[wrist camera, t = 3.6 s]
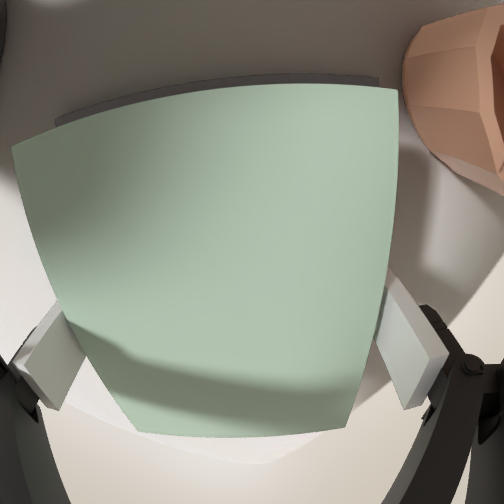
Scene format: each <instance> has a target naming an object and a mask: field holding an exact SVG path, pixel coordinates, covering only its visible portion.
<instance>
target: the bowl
mask: <svg viewBox="0 0 504 504" xmlns="http://www.w3.org/2000/svg"><path fill="white" fill-rule="evenodd" d="M402 87H403V95H404V100H405V104H406V108H407V111H408V114H409V117H410V119H411V122H412V124H413V126H414V128H415V130H416V132H417V134H418V136H419V137H420V139H421V140H422V142H423V143H424V144H425V146H426V147H427V148H428V149H429V151H430V152H431V153H432V154H434V155H435V156H436V157H437V158H438V159H439V160H441V161H442V162H444V163H445V164H447V165H448V166H449V167H450V168H451V169H452V170H453V171H454V172H455V173H457V174H459V175H461V176H463V177H466V178H468V179H470V180H472V181H474V182H476V183H478V184H480V185H482V186H484V187H486V188H488V189H490V190H492V191H494V192H496V193H498V194H500V195H502V196H503V197H504V4H499V5H494V6H489V7H485V8H481V9H477V10H473V11H469V12H465V13H461V14H458V15H454V16H451V17H448V18H445V19H442V20H439V21H436V22H433V23H430V24H427V25H424V26H421V28H420V31H419V32H418V33H417V34H416V35H415V36H414V37H413V38H412V40H411V41H410V43H409V45H408V47H407V50H406V52H405V56H404V60H403V66H402Z"/></svg>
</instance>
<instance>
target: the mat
mask: <svg viewBox="0 0 504 504" xmlns="http://www.w3.org/2000/svg"><path fill="white" fill-rule="evenodd" d="M269 84H341V85H357V86H369V87H379V78H373V77H363V76H351V75H334V74H268V75H251V76H239V77H229V78H220V79H212V80H204V81H197V82H191V83H185V84H179V85H174V86H168V87H163V88H158V89H154V90H149V91H145V92H140V93H136V94H132V95H128V96H125V97H121V98H117V99H114V100H110V101H107V102H103V103H100V104H97V105H94V106H90V107H87V108H84V109H81V110H78V111H76V112H73V113H70V114H67V115H64V116H62V117H59V118H57V119H55V125H56V127H59V126H61V125H64V124H67V123H70V122H73V121H76V120H79V119H82V118H85V117H88V116H91V115H94V114H98V113H101V112H105V111H108V110H112V109H115V108H119V107H123V106H127V105H131V104H135V103H139V102H144V101H148V100H153V99H158V98H163V97H168V96H173V95H179V94H185V93H191V92H197V91H204V90H212V89H220V88H229V87H240V86H252V85H269Z"/></svg>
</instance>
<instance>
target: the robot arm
mask: <svg viewBox="0 0 504 504" xmlns="http://www.w3.org/2000/svg"><path fill="white" fill-rule="evenodd" d="M5 25H6V8H5V1H4V0H0V59H1V54H2V48H3V42H4V36H5ZM373 337H374V340H375V342H376V344H377V346H378V349H379V351H380V353H381V356H382V358H383V360H384V363H385V365H386V367H387V370H388V372H389V374H390V377H391V379H392V382H393V384H394V386H395V389H396V392H397V394H398V396H399V399H400V401H401V404H402V407H403V409H404V410H406V409H410V408H414V407H417V406H420V405H422V404H423V402H424V400H425V399H426V397H427V396H428V398H429V400H430V402H431V404H430V406H429V408H428V409H427V411H426V412H425V414H424V415H423V417H422V419H423V422H422V425H421V428H420V430H419V432H418V434H417V437H416V439H415V441H414V443H413V446H412V448H411V450H410V452H409V454H408V456H407V458H406V460H405V462H404V464H403V466H402V468H401V470H400V472H399V474H398V476H397V478H396V479H395V481H394V483H393V485H392V487H391V488H390V490H389V492H388V493H387V495H386V497H385V499H384V500H383V502H382V503H381V504H451V502H452V499H453V497H454V495H455V492H456V489H457V487H458V485H459V482H460V479H461V477H462V474H463V471H464V468H465V465H466V462H467V459H468V456H469V453H470V449H471V461H470V473H469V480H468V488H467V494H466V500H465V504H504V359H503V360H502V362H501V364H484V362H483V361H482V360H481V359H480V358H479V357H477V356H475V355H472V354H465V352H464V351H463V349H462V348H461V346H460V345H459V343H458V342H457V340H456V339H455V337H454V336H453V335H452V333H451V332H450V330H449V329H447V326H446V324H445V323H444V322H443V321H442V319H441V317H440V316H439V314H438V313H437V312H436V311H435V310H434V309H432V308H431V307H429V306H428V305H421V306H418V305H417V304H416V302H415V301H414V299H413V298H412V296H411V295H410V294H409V292H408V291H407V290H406V288H405V287H404V285H403V284H402V283H401V281H400V280H399V279H398V277H397V276H396V275H395V273H394V272H393V271H392V269H391V268H390V267H389V265H388V266H387V272H386V278H385V284H384V289H383V294H382V299H381V304H380V309H379V314H378V318H377V322H376V327H375V331H374V335H373ZM85 357H86V354H85V352H84V350H83V349H82V347H81V345H80V343H79V341H78V340H77V338H76V336H75V334H74V332H73V330H72V328H71V326H70V324H69V322H68V320H67V318H66V316H65V314H64V312H63V310H62V308H61V306H60V304H59V302H58V300H57V301H56V303H55V304H54V305H53V306H52V308H51V309H50V310H49V311H48V313H47V314H46V315H45V317H44V318H43V319H42V321H41V322H40V323H39V325H38V326H36V327H35V328H34V329H33V330H32V331H31V332H30V334H29V335H28V337H27V339H25V341H24V342H23V345H21V346H20V348H19V349H18V351H17V352H16V353H15V355H14V356H13V358H12V359H11V361H10V362H9V364H8V365H7V364H6V363H5V361H4V360H3V358H2V357H1V355H0V504H71V503H70V500H69V498H68V496H67V493H66V491H65V488H64V486H63V483H62V481H61V478H60V475H59V472H58V469H57V467H56V464H55V460H54V457H53V454H52V451H51V448H50V444H49V441H48V437H47V434H46V430H45V426H44V422H43V417H42V413H41V409H40V407H39V406H38V405H37V402H38V400H39V399H40V400H41V401H42V402H43V404H44V405H45V406H46V407H47V408H51V409H54V410H57V411H59V410H60V408H61V406H62V403H63V401H64V399H65V397H66V395H67V393H68V391H69V389H70V387H71V385H72V383H73V381H74V379H75V377H76V375H77V373H78V371H79V369H80V367H81V365H82V363H83V361H84V359H85ZM471 446H472V447H471Z"/></svg>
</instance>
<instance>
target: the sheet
mask: <svg viewBox="0 0 504 504" xmlns="http://www.w3.org/2000/svg"><path fill="white" fill-rule="evenodd" d="M11 150H12V156H13V162H14V167H15V172H16V177H17V181H18V186H19V190H20V194H21V198H22V202H23V205H24V209H25V213H26V216H27V220H28V223H29V226H30V229H31V232H32V235H33V239H34V241H35V244H36V247H37V250H38V253H39V256H40V258H41V261H42V264H43V266H44V269H45V271H46V274H47V276H48V279H49V281H50V284H51V286H52V288H53V290H54V293H55V295H56V297H57V299H58V302H59V304H60V306H61V308H62V310H63V312H64V314H65V316H66V318H67V320H68V322H69V324H70V326H71V328H72V330H73V332H74V334H75V336H76V338H77V340H78V341H79V343H80V345H81V347H82V349H83V350H84V352H85V354H86V356H87V357H88V359H89V361H90V362H91V364H92V366H93V367H94V369H95V371H96V372H97V374H98V375H99V377H100V379H101V380H102V382H103V383H104V385H105V386H106V388H107V389H108V391H109V392H110V394H111V395H112V397H113V398H114V400H115V401H116V403H117V404H118V405H119V407H120V408H121V410H122V411H123V412H124V414H125V415H126V416H127V418H128V419H129V420H130V422H131V423H132V424H133V426H134V427H135V428H136V429H137V431H138V432H146V433H154V434H164V435H175V436H189V437H215V438H241V437H267V436H282V435H293V434H303V433H311V432H319V431H326V430H332V429H338V428H344V427H345V426H346V423H347V421H348V418H349V415H350V412H351V410H352V407H353V404H354V401H355V398H356V395H357V392H358V388H359V385H360V382H361V379H362V375H363V372H364V369H365V365H366V362H367V358H368V354H369V351H370V347H371V343H372V339H373V335H374V331H375V327H376V322H377V318H378V314H379V309H380V304H381V299H382V294H383V289H384V284H385V278H386V272H387V266H388V260H389V253H390V247H391V239H392V231H393V223H394V213H395V203H396V191H397V175H398V151H399V108H398V90H396V89H388V88H379V87H369V86H357V85H341V84H269V85H252V86H240V87H229V88H220V89H212V90H204V91H197V92H191V93H185V94H179V95H173V96H168V97H163V98H158V99H153V100H148V101H144V102H139V103H135V104H131V105H127V106H123V107H119V108H115V109H112V110H108V111H105V112H101V113H98V114H94V115H91V116H88V117H85V118H82V119H79V120H76V121H73V122H70V123H67V124H64V125H61V126H59V127H56V128H53V129H51V130H48V131H46V132H43V133H41V134H38V135H36V136H33V137H31V138H29V139H26V140H24V141H22V142H20V143H17V144H15V145H13V146H11Z"/></svg>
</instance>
